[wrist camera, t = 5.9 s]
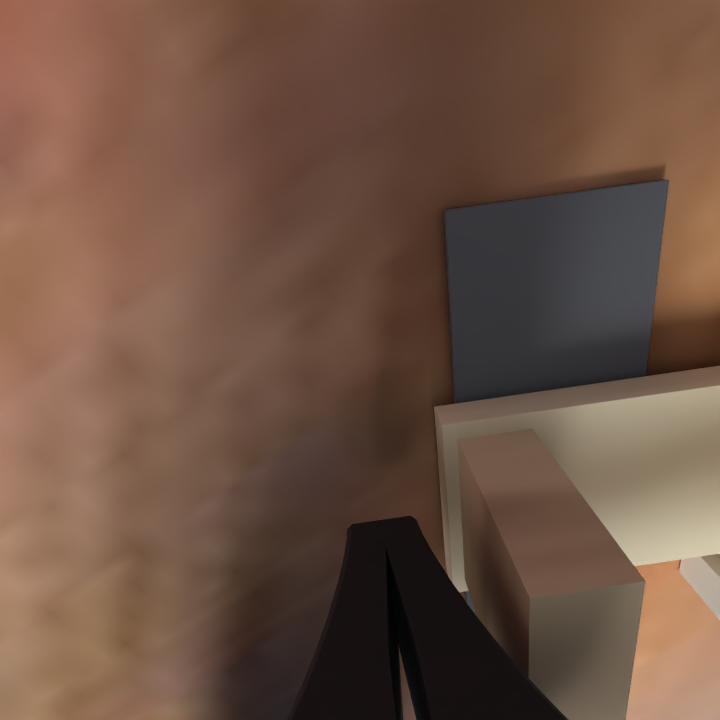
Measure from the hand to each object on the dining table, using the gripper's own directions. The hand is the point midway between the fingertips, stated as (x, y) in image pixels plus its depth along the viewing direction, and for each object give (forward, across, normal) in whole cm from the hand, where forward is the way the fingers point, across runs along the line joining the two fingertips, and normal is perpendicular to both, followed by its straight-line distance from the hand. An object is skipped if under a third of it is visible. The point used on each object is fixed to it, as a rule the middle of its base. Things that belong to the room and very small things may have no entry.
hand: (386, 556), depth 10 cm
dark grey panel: (+2, -4, 0) cm, 5 cm away
